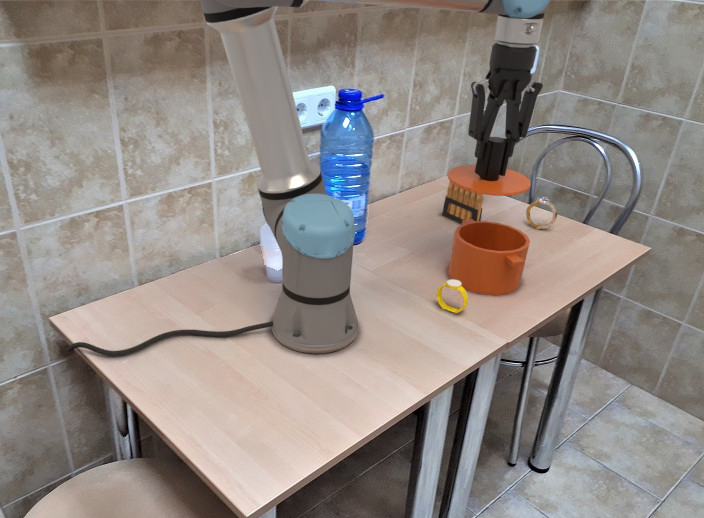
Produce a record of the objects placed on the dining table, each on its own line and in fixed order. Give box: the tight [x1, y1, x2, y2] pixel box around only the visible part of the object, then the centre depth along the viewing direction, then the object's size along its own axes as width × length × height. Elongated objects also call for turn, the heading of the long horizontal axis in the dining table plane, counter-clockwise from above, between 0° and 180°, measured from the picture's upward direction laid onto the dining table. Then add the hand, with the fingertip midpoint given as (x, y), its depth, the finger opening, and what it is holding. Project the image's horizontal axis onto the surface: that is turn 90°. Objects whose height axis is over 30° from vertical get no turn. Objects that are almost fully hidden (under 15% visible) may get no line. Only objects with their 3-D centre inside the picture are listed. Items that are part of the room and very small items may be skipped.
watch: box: [436, 279, 469, 315], centre depth 115 cm, size 6×3×6 cm, turn 49°
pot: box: [447, 219, 531, 296], centre depth 126 cm, size 15×20×10 cm
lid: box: [447, 136, 532, 197], centre depth 117 cm, size 16×16×9 cm
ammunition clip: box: [441, 181, 484, 225], centre depth 149 cm, size 11×2×12 cm, turn 38°
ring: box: [525, 196, 558, 230], centre depth 148 cm, size 7×3×8 cm, turn 50°
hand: (489, 173), depth 118 cm, fingers closed on lid, 4 cm apart
